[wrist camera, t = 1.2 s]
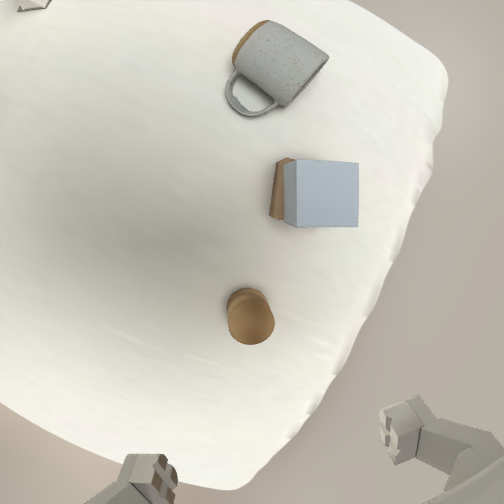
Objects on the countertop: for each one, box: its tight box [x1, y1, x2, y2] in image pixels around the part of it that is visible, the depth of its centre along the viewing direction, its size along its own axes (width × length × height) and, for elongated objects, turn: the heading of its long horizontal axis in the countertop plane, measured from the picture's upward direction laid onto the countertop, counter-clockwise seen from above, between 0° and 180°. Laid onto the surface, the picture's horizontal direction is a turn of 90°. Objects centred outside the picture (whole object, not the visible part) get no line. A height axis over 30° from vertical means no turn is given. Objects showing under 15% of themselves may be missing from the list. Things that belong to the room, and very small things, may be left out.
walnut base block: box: [269, 158, 294, 220], centre depth 31 cm, size 6×6×5 cm
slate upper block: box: [284, 159, 359, 227], centre depth 26 cm, size 6×6×5 cm
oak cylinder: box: [227, 288, 275, 345], centre depth 33 cm, size 5×5×5 cm
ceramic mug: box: [226, 20, 329, 116], centre depth 27 cm, size 11×8×8 cm
